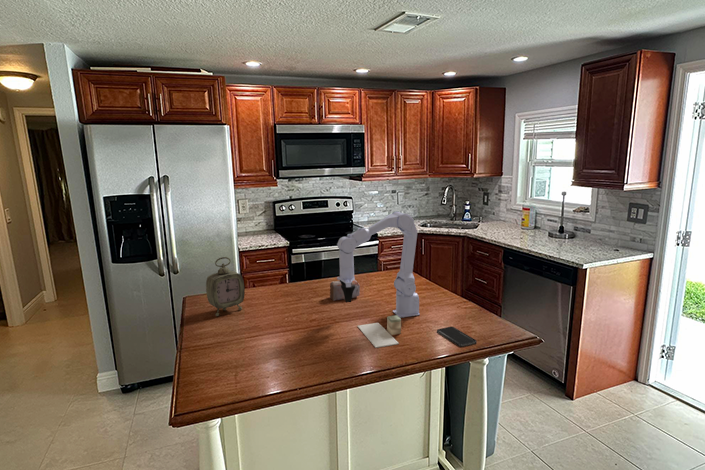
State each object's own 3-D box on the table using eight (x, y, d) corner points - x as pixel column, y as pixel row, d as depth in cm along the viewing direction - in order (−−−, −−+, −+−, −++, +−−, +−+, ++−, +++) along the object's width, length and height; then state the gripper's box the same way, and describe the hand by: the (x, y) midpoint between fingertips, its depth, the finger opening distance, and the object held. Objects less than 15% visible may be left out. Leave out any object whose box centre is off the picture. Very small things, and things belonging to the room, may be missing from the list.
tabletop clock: (214, 318, 175) (210, 261, 170) (206, 313, 181) (201, 258, 177) (246, 310, 184) (242, 256, 179) (237, 305, 191) (233, 252, 186)
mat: (378, 323, 167) (378, 322, 167) (398, 344, 148) (398, 343, 148) (357, 326, 164) (357, 325, 164) (375, 347, 145) (375, 346, 145)
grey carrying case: (355, 293, 204) (354, 274, 203) (360, 298, 197) (360, 278, 195) (328, 297, 200) (328, 277, 198) (333, 302, 192) (333, 282, 191)
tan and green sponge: (396, 329, 161) (396, 315, 159) (400, 333, 157) (401, 318, 156) (387, 331, 159) (387, 316, 158) (391, 335, 156) (391, 320, 155)
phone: (460, 345, 145) (435, 329, 158) (460, 348, 145) (435, 332, 158) (478, 341, 148) (452, 326, 161) (478, 344, 148) (452, 328, 161)
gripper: (335, 262, 172) (336, 293, 174) (337, 272, 157) (338, 305, 160) (352, 261, 172) (353, 292, 175) (356, 271, 158) (356, 304, 161)
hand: (347, 298), depth 167 cm, fingers open, 7 cm apart
